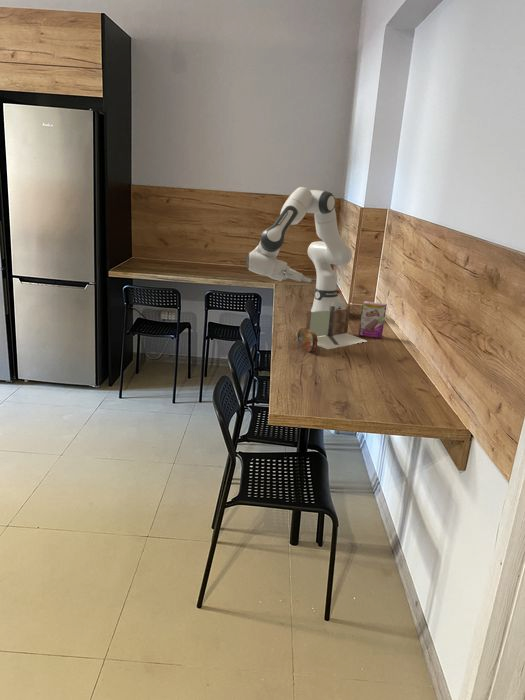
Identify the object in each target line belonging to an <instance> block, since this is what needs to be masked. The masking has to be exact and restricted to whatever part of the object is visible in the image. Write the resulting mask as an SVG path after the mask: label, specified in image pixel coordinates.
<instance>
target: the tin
mask: <svg viewBox="0 0 525 700" xmlns="http://www.w3.org/2000/svg"><path fill="white" fill-rule="evenodd" d="M297 342H298V345H299V346H300V347H301V348H302V349H303V350H305V351H306V352H309V353H310V352H315V351H316V350H317V347H318V346H317V342H318V339H317V335H316V334H315V333H314V332H312V331H310V330H309V329H307V328H305V327H300V329H299V330H298V333H297Z"/></svg>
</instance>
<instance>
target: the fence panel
mask: <svg viewBox="0 0 525 700" xmlns="http://www.w3.org/2000/svg"><path fill="white" fill-rule="evenodd" d="M329 319H330V310H323V311H315V312H311V310H310V311H309V310H308V311H306V317H305V327H304V328H307V329H309V330H310V331H312V332H314V333H315V334H316V335H317V337H319V336H324V335H328V329H329Z"/></svg>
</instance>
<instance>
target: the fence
mask: <svg viewBox="0 0 525 700" xmlns="http://www.w3.org/2000/svg"><path fill="white" fill-rule="evenodd" d="M329 310H330V319H329V329H328V336H332V335H336V334H342V333H347V334H348V330H349V329H348V328H349V321H350V311H351V306H350V305H346V306H345V309H338V310H335V306H330V309H329Z"/></svg>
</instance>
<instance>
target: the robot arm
mask: <svg viewBox="0 0 525 700" xmlns="http://www.w3.org/2000/svg"><path fill="white" fill-rule="evenodd" d="M335 206H336V198H335V196H334V194H333V193H332V192H331V191H327V190H319V189H309V188H307V187H305V186H300V187H297V188H296V189H295V190H294V191H293V192H291V194H290V195H289V196H288V197H287V199H286V201H285V202H284V204H283V205H282V207H281V210H280V214H279V216H278V217H277V219H276V220H275V222H273V224H272V225H270V226H268V227H267V228H266V229H264V231H262V233H261V236H260V241H259V244H258V245H257V246H256V247H255V248H254V249H253V250H252V251H250V252H248V253H247V259H246V269H248V271H250V272H253V273H254V274H258V275H259V276H262V277H263V276H266V277H269V278H270V279H272V280H275V281H279V282H282V281H283V280H287V279H290V280H294V281H297V282H300V283H301V282H307V283H311V282H312V278H310V277H308V276H306V275H304V274H303V273H302V272H299V271H296V270H295V269H293V268H291V266H289V265H288V262H286V261H284V260H279V259H277V257H278V254H279V252H280V251H281V247H282V245H283V244H284V242H285V241H284V240H285V234H286V232H287V230H289V227H291V226H293V225H298V224H299V223H300V222H301V221H302V220H303V218H304V217H305V215H306V214H313V215H314V224H315V232H316V236H317V237H318V238H319V239H321V240H319V241H313V242H311V243H310V244H309V245H308V247H307V257H309V259H310V260H311V261H312V263H313V265H314V268H315V272H316V274H315V275H316V283H315V288H314V293H313V294H314V298H313V303H312V307H311V309H310V311H311V312H315V311H323V310H329V309H330V306H335V310H338V309H345V306H347V305H346V303H345V301H343V299H342V298H341V297H339V295H341V294H342V289H341V290H340V289H337V286H338V285H337V283H338V275H337V273H336V271H334V270H333V268H332V266H331V265H336V266H345V265H346V266H347V265H348V264H349V263H350V262H351V260H352V257H353V251H352V248H351V247H349V246H348V245H347V244H346V243H345V241H344V240H343V238H342V236H341V235H340V232H339V229H338V219H337V213H336V208H335Z"/></svg>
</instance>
